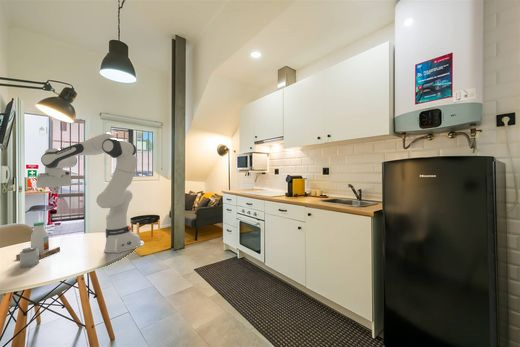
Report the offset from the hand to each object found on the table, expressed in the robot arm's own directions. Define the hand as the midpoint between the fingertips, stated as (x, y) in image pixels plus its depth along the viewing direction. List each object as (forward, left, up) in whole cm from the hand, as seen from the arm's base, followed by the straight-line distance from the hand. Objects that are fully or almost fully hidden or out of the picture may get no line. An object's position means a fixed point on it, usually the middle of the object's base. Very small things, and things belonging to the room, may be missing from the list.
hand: (55, 193), depth 142 cm
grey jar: (+8, +27, -37) cm, 46 cm away
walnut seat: (+7, +10, -37) cm, 39 cm away
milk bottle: (+7, +10, -37) cm, 39 cm away
